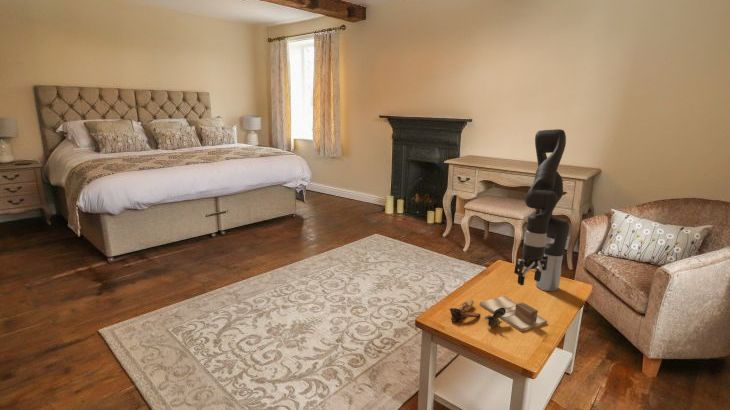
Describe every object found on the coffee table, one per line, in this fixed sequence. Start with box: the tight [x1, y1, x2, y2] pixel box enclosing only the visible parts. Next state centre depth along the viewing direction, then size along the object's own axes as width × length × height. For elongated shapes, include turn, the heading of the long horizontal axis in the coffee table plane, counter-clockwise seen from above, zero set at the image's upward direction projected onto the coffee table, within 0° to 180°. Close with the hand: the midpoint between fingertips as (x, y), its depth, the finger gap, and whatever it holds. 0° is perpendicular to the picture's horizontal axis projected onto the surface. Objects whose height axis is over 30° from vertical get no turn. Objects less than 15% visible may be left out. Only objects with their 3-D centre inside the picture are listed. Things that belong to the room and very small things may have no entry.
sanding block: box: [514, 302, 539, 324], centre depth 153 cm, size 4×7×5 cm, turn 27°
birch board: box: [479, 295, 548, 332], centre depth 160 cm, size 14×22×1 cm, turn 27°
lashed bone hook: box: [449, 299, 481, 323], centre depth 157 cm, size 9×5×18 cm
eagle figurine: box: [483, 308, 506, 330], centre depth 151 cm, size 8×7×9 cm
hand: (528, 282), depth 150 cm, fingers open, 8 cm apart
